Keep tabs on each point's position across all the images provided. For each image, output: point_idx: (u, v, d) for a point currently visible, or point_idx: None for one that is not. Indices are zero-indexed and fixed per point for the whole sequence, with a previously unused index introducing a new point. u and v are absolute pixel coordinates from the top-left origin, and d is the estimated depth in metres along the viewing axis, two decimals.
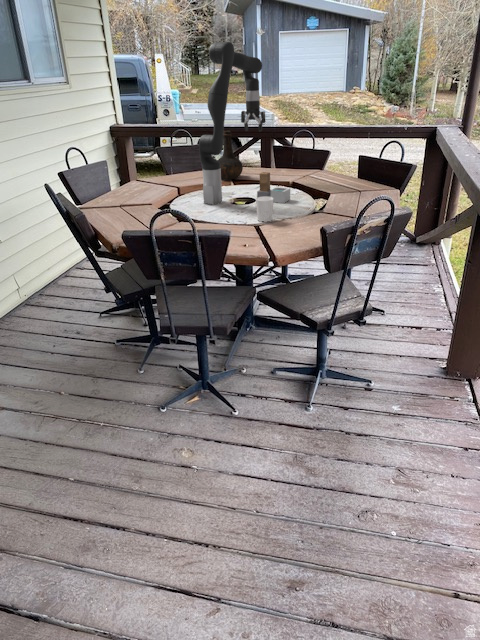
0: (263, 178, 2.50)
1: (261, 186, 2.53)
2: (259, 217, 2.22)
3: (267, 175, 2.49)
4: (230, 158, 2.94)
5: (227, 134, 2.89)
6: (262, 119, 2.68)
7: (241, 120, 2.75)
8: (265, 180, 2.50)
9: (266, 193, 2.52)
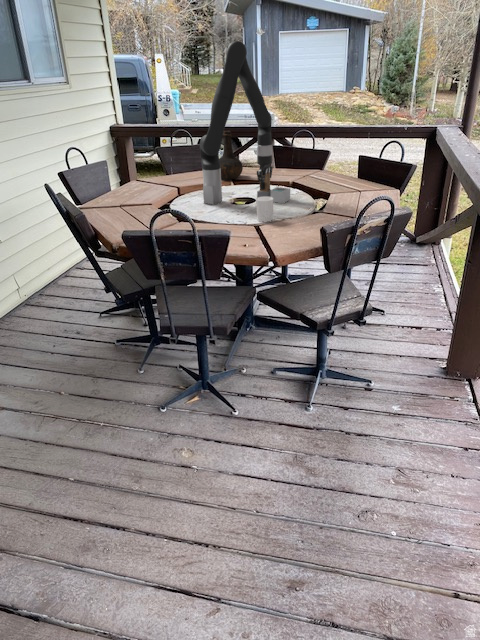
0: None
1: None
2: (259, 217, 2.22)
3: (267, 175, 2.49)
4: (230, 158, 2.94)
5: (227, 134, 2.89)
6: (271, 174, 2.55)
7: (262, 179, 2.48)
8: (265, 180, 2.50)
9: (266, 193, 2.52)
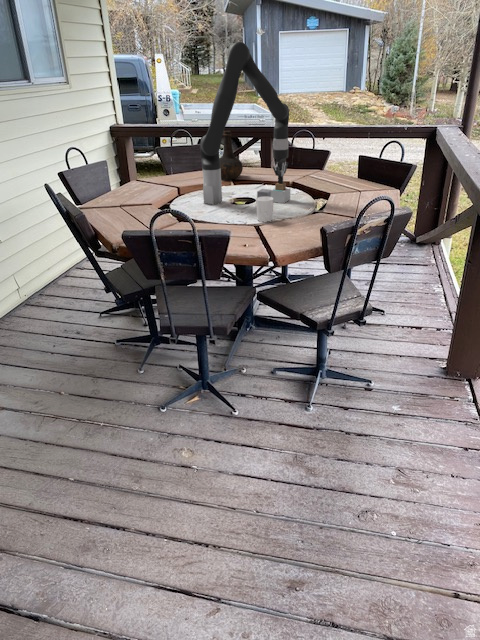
0: (279, 188, 2.48)
1: None
2: (259, 217, 2.22)
3: (283, 185, 2.48)
4: (230, 158, 2.94)
5: (227, 134, 2.89)
6: (285, 170, 2.48)
7: (280, 173, 2.43)
8: None
9: (266, 193, 2.52)
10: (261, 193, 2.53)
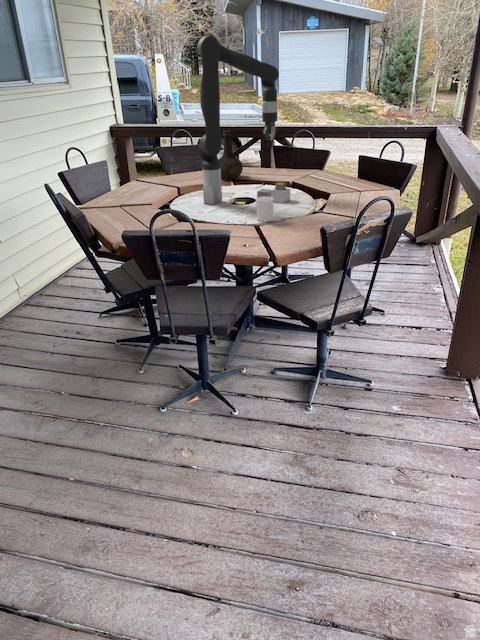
0: (279, 188, 2.48)
1: None
2: (259, 217, 2.22)
3: (283, 185, 2.48)
4: (230, 158, 2.94)
5: (227, 134, 2.89)
6: (275, 134, 2.49)
7: (269, 137, 2.44)
8: None
9: (266, 193, 2.52)
10: (261, 193, 2.53)
